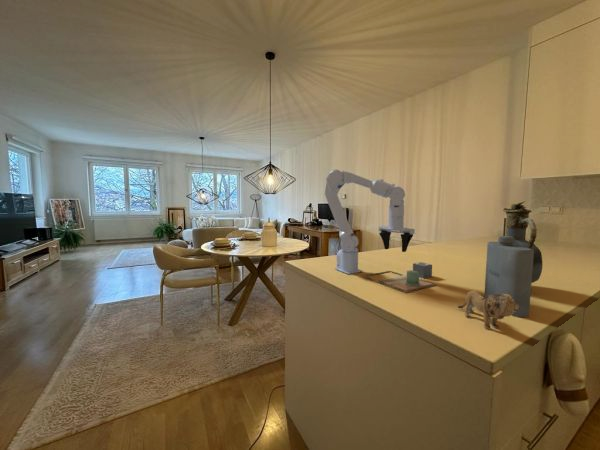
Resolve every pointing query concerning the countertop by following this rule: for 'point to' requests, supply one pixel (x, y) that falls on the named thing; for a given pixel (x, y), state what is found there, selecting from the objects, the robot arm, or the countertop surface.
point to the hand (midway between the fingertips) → (395, 250)
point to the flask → (510, 272)
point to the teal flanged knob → (412, 278)
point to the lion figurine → (490, 307)
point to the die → (423, 269)
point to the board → (400, 283)
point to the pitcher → (524, 234)
